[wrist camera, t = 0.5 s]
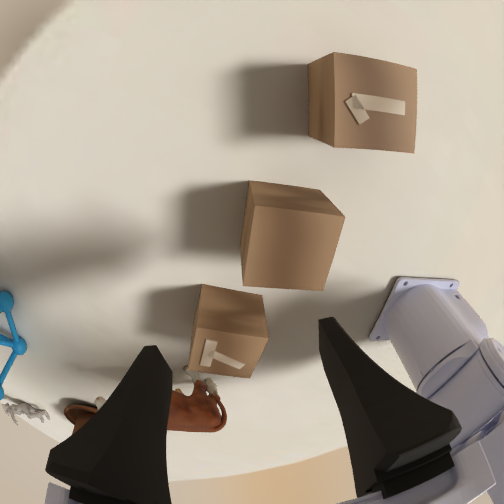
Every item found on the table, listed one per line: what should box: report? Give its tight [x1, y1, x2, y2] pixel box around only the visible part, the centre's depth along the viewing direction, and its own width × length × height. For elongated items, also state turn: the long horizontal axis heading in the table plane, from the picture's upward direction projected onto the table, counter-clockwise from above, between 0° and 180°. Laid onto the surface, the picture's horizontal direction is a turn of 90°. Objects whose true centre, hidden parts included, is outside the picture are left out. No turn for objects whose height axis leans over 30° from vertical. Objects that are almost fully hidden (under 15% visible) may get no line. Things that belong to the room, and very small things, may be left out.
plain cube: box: [240, 180, 345, 291], centre depth 18 cm, size 5×5×5 cm
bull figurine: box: [95, 366, 227, 432], centre depth 24 cm, size 4×13×8 cm, turn 84°
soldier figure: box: [2, 403, 50, 425], centre depth 33 cm, size 8×5×12 cm
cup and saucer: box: [64, 405, 98, 435], centre depth 32 cm, size 12×12×6 cm
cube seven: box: [188, 284, 269, 378], centre depth 22 cm, size 5×5×5 cm
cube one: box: [308, 52, 417, 153], centre depth 14 cm, size 5×5×5 cm
